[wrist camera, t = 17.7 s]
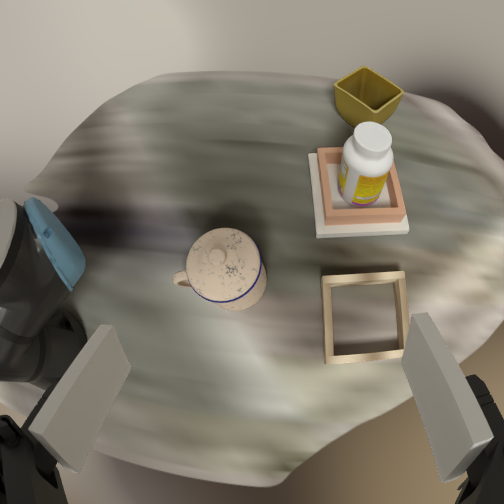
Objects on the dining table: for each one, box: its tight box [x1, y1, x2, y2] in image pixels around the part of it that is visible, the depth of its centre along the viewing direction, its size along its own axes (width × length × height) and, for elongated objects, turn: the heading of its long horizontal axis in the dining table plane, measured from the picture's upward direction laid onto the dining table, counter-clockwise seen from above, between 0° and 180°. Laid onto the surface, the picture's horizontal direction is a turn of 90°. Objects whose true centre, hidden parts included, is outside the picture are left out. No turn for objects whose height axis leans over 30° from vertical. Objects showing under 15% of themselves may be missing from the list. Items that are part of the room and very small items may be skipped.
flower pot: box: [334, 66, 404, 128], centre depth 46 cm, size 9×9×9 cm
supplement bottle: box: [338, 122, 393, 208], centre depth 38 cm, size 7×7×13 cm
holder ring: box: [321, 271, 410, 364], centre depth 39 cm, size 12×12×2 cm
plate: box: [308, 147, 409, 238], centre depth 44 cm, size 14×14×4 cm
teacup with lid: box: [173, 228, 267, 311], centre depth 39 cm, size 12×9×12 cm
